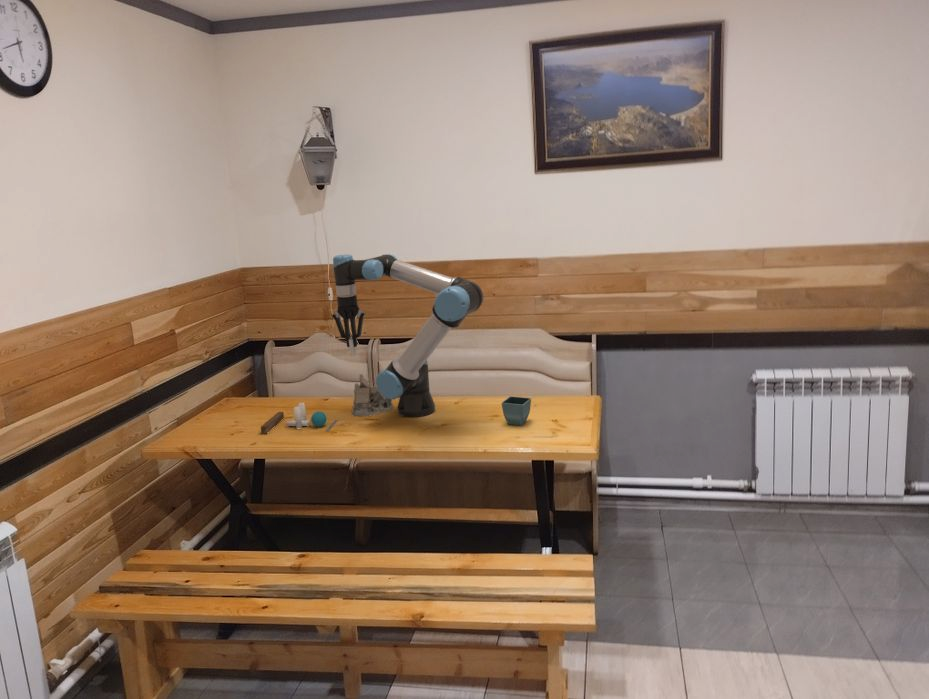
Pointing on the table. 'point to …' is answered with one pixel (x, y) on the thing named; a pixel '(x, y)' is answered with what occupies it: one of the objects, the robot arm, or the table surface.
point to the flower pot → (516, 409)
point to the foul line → (331, 425)
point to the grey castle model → (369, 400)
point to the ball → (318, 419)
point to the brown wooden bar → (272, 422)
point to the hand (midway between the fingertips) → (353, 354)
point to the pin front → (292, 423)
